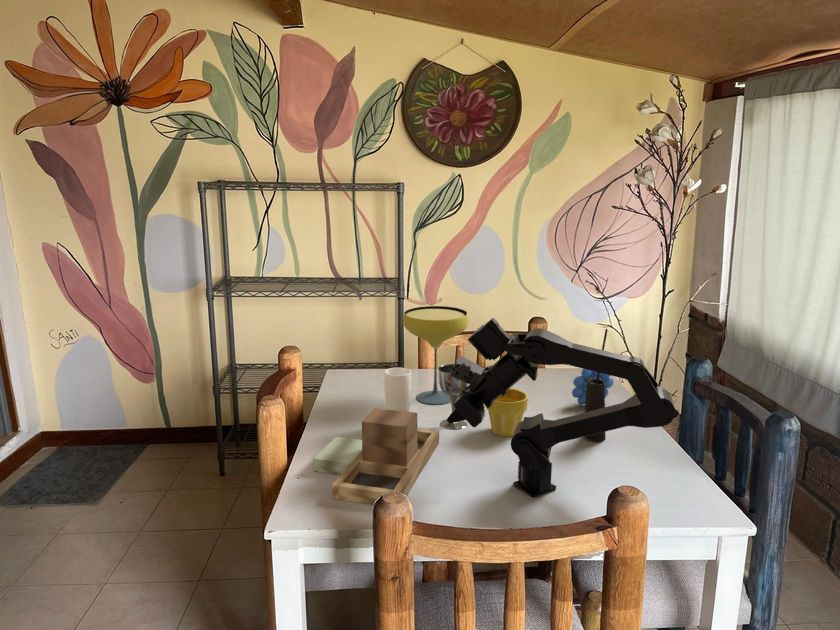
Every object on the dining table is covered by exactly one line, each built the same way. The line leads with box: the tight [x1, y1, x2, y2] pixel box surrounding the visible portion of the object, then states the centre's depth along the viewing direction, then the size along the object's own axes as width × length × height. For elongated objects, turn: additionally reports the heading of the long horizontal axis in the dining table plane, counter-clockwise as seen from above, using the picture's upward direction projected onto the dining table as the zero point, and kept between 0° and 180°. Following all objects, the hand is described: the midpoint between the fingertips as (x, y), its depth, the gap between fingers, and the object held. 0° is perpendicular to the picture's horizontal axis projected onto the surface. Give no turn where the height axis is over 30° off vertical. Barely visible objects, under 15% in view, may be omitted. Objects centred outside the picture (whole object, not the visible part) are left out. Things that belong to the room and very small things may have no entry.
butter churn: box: [584, 328, 608, 443], centre depth 155 cm, size 9×10×28 cm
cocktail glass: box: [402, 305, 469, 406], centre depth 181 cm, size 18×18×25 cm
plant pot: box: [485, 387, 529, 438], centre depth 160 cm, size 10×10×10 cm
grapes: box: [571, 368, 614, 406], centre depth 178 cm, size 12×7×12 cm, turn 97°
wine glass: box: [437, 363, 469, 431], centre depth 164 cm, size 8×8×15 cm
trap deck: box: [313, 428, 440, 506], centre depth 143 cm, size 23×32×3 cm
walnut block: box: [361, 407, 418, 466], centre depth 140 cm, size 10×8×9 cm
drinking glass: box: [383, 367, 412, 412], centre depth 162 cm, size 7×7×15 cm
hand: (448, 421), depth 136 cm, fingers closed
